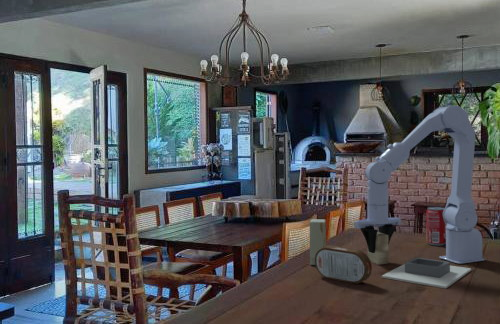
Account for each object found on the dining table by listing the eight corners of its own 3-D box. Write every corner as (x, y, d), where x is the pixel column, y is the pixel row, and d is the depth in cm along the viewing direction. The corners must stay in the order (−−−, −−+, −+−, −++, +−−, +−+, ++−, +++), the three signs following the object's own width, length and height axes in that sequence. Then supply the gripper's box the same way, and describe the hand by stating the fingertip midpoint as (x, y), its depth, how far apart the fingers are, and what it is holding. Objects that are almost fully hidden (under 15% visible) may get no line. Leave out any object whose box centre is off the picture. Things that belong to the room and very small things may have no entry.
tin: (372, 284, 124) (372, 249, 123) (366, 287, 121) (366, 252, 121) (319, 274, 133) (319, 242, 133) (313, 277, 131) (312, 244, 131)
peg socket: (412, 261, 145) (412, 251, 144) (471, 270, 134) (471, 259, 134) (381, 277, 129) (381, 265, 129) (445, 288, 119) (445, 275, 119)
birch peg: (377, 259, 148) (377, 232, 148) (388, 263, 144) (388, 235, 143) (367, 260, 147) (367, 233, 147) (377, 264, 142) (377, 236, 142)
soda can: (424, 244, 166) (424, 208, 166) (428, 241, 172) (428, 206, 171) (444, 246, 163) (444, 209, 163) (448, 243, 169) (448, 207, 168)
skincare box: (325, 266, 142) (324, 222, 141) (309, 265, 143) (309, 222, 142) (326, 260, 148) (326, 218, 147) (311, 260, 149) (311, 218, 148)
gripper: (390, 201, 151) (390, 246, 152) (348, 204, 146) (348, 251, 146) (405, 203, 144) (405, 251, 145) (361, 207, 139) (362, 256, 140)
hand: (377, 251), depth 145 cm, fingers closed on birch peg, 3 cm apart
